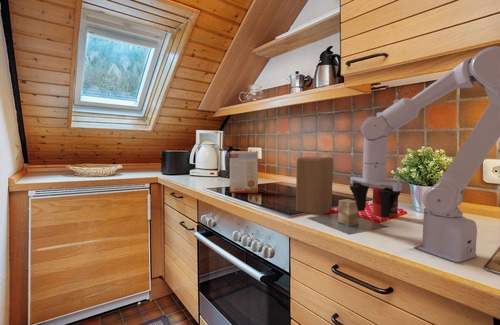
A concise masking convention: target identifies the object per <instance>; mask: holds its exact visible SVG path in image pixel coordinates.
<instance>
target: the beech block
mask: <svg viewBox="0 0 500 325" xmlns="http://www.w3.org/2000/svg"><path fill="white" fill-rule="evenodd" d="M359 212H360V211H358V209H357V205H356V201H355V199H354V200H353V199H349V198H348V199H338V223H339V224H342V225H345V226H347V227H350V226H356V225H358V221H359V218H360V216H359V214H360V213H359Z"/></svg>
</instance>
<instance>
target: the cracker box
mask: <svg viewBox="0 0 500 325" xmlns="http://www.w3.org/2000/svg"><path fill="white" fill-rule="evenodd" d="M258 152H259V151H245V150H244V151H240V150H239V151H236V150H235V151H229V193H231V194H232V193H233V194H234V193H245V194H246V193H248V194H249V193H250V194H257V193H258V191H259V189H258V183H259V182H258V179H259V178H258V177H259V176H258V172H259V171H258V169H259V162H258V161H259V160H258V159H259V156H258V154H259V153H258Z"/></svg>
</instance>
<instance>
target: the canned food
mask: <svg viewBox="0 0 500 325" xmlns="http://www.w3.org/2000/svg"><path fill="white" fill-rule="evenodd" d="M372 185H376V184H372ZM379 190H385V189H382V188H376V187H372V205H371V207H372V208H371V213H372V215H373V216H376V217H379V218H382V217H381V200H380V195H379ZM398 207H399V196H398V197H397V199H396V201H395V202H394V204H393V207H392V209H391V212H390V215H389V217H387V219H393V218H395V219H397V217H398V210H399V208H398Z"/></svg>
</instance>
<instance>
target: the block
mask: <svg viewBox="0 0 500 325" xmlns="http://www.w3.org/2000/svg"><path fill="white" fill-rule="evenodd" d="M333 168H334V159H333V157H331V156H329V157H327V156H301V157H300V156H299V157H297V159H296V186H295V187H296V189H295V193H296V194H295V211H296V212H299V213H305V214H312V215H315V216H323V215H326V214H327V213H329V212H332V210H333V209H332V208H333V181H334V180H333V175H334V173H333V172H334V169H333Z"/></svg>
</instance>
